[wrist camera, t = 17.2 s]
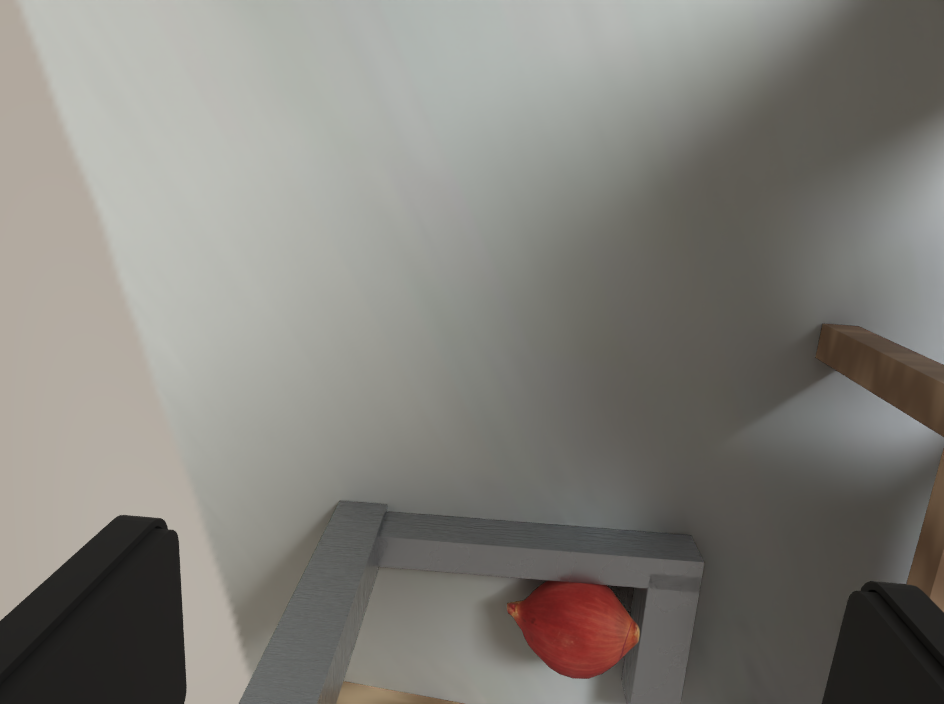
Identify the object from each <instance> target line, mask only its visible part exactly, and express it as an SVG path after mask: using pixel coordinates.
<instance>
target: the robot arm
mask: <svg viewBox="0 0 944 704" xmlns="http://www.w3.org/2000/svg"><path fill="white" fill-rule="evenodd" d="M185 696H186V669H185V651H184V632H183V613H182V595H181V576H180V557H179V541H178V535H177V533H176V532H175V531H174V530H168V528H167V525H166V522H165V521H164V520H163V519H161V518H151V517H140V516H128V515H120V516H118V517H116V518H115V519H114V520H112V521H111V522H110V523H109V524H108V525H107V526H106V527H104V528H103V529H102V530H101V531H100V532H99V533H98V534H97V535H96V536H94V537H93V538H92V539H91V540H90V541H89V542H88V543H87V544H86V545H85V546H83V547H82V548H81V549H80V550H79V551H78V552H77V553H75V554H74V555H73V556H72V557H71V558H70V559H69V560H68V561H67V562H66V563H64V564H63V565H62V566H61V567H60V568H59V569H58V570H57V571H55V572H54V573H53V574H52V575H51V576H50V577H49V578H48V579H47V580H45V581H44V582H43V583H42V584H41V585H40V586H39V587H38V588H37V589H35V590H34V591H33V592H32V593H31V594H30V595H29V596H28V597H26V598H25V599H24V600H23V601H22V602H21V603H20V604H19V605H18V606H17V607H15V608H14V609H13V610H12V611H11V612H10V613H9V614H8V615H6V616H5V617H4V618H3V619H2V620H1V621H0V704H184V701H185ZM822 704H944V612H943V611H942V610H941V609H940V608H939V607H938V606H937V605H936V604H935V603H934V602H933V601H932V600H931V599H930V598H929V597H928V596H927V595H926V594H925V593H924V592H923V591H922V590H921V589H920V588H918V587H917V586H914V585H907V584H896V583H885V582H873V581H870V582H867V583H865V585H864V586H863V587H862V588H861V591H855V592H853V593H852V594H851V595H850V596H849V599H848V602H847V606H846V610H845V614H844V618H843V622H842V626H841V630H840V634H839V638H838V642H837V646H836V650H835V654H834V658H833V662H832V666H831V670H830V674H829V678H828V682H827V686H826V690H825V693H824V697H823V701H822Z"/></svg>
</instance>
